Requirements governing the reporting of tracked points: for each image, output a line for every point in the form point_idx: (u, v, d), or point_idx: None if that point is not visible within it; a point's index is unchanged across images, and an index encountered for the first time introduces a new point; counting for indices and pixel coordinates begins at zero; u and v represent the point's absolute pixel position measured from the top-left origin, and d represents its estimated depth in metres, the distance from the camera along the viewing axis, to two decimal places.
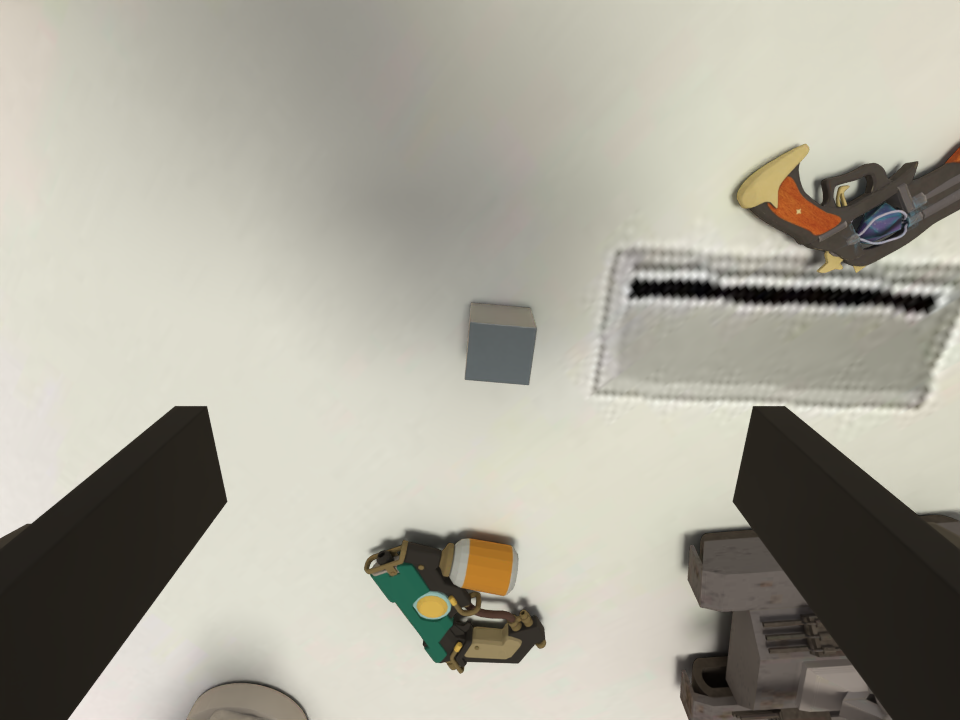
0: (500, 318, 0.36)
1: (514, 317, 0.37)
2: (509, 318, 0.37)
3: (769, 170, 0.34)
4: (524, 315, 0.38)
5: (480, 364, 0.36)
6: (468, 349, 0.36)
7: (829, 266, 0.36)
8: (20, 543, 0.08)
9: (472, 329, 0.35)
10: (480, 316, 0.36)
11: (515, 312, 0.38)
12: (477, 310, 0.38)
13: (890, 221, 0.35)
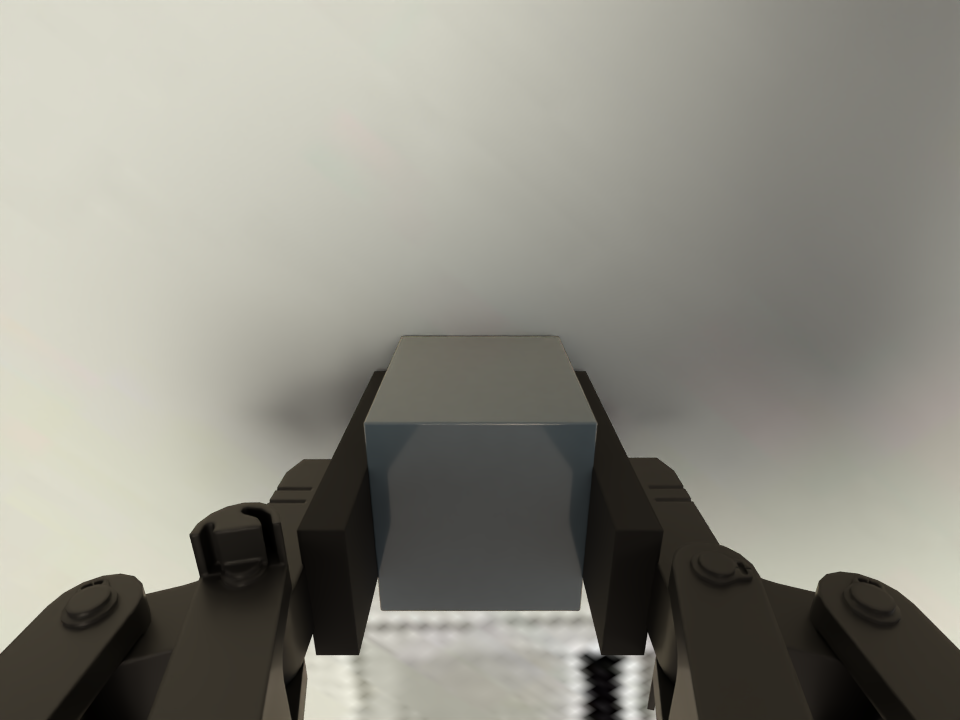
0: None
1: None
2: None
3: None
4: None
5: (434, 468, 0.10)
6: (489, 426, 0.10)
7: None
8: (338, 465, 0.10)
9: (568, 432, 0.10)
10: None
11: None
12: None
13: None
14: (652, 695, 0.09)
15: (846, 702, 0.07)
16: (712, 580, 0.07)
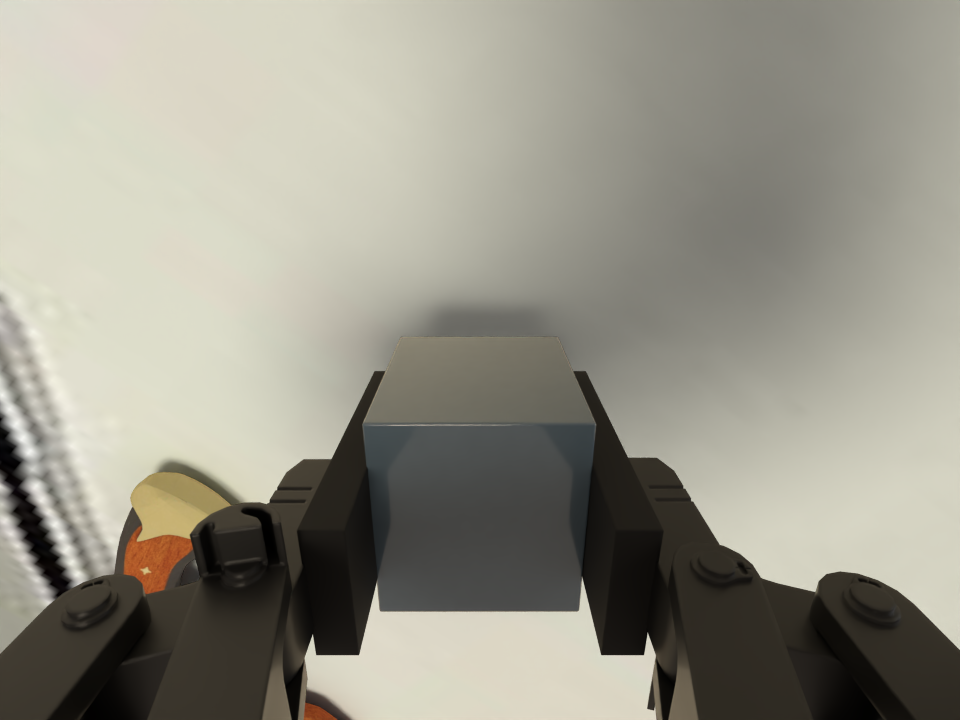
0: None
1: None
2: None
3: (193, 513, 0.21)
4: None
5: (433, 469, 0.10)
6: (488, 426, 0.10)
7: None
8: (338, 465, 0.10)
9: (566, 433, 0.10)
10: None
11: None
12: None
13: None
14: (652, 695, 0.09)
15: (846, 702, 0.07)
16: (712, 581, 0.07)
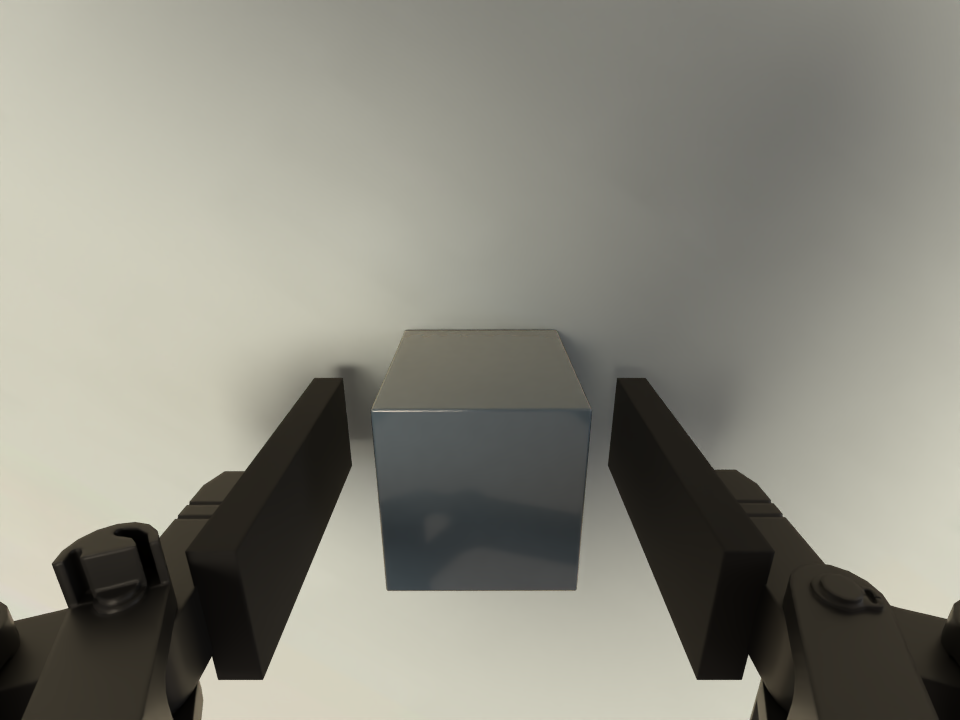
0: None
1: None
2: None
3: None
4: None
5: (437, 453, 0.10)
6: (489, 412, 0.10)
7: None
8: (249, 479, 0.09)
9: (564, 419, 0.10)
10: None
11: None
12: None
13: None
14: (755, 717, 0.08)
15: None
16: (835, 605, 0.07)
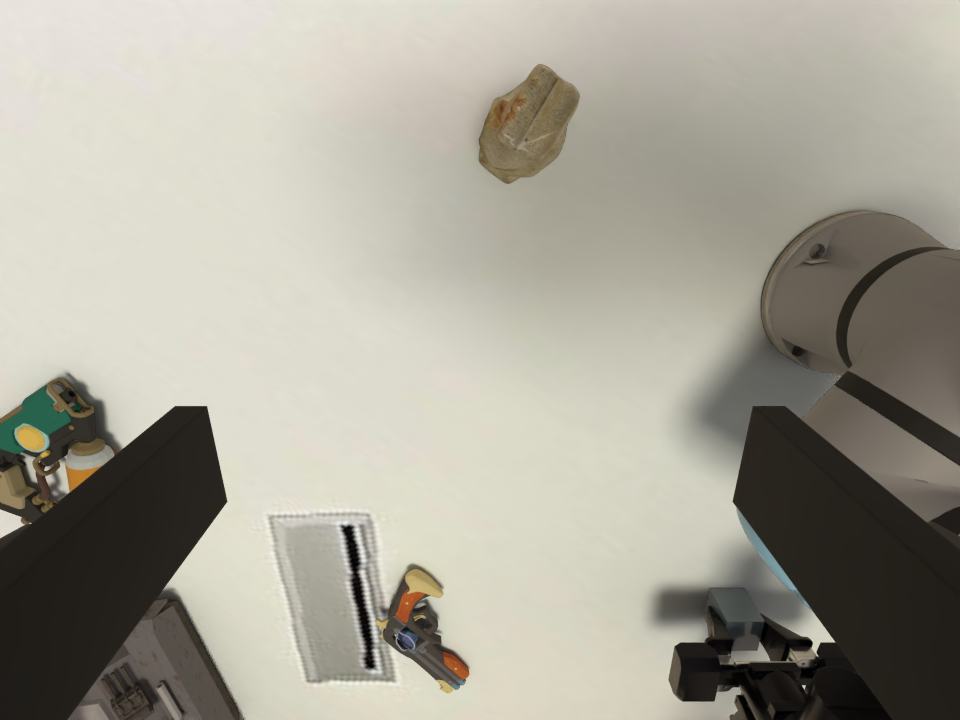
0: None
1: None
2: None
3: (426, 584, 0.61)
4: None
5: (736, 627, 0.59)
6: (747, 622, 0.59)
7: (380, 623, 0.63)
8: (21, 543, 0.08)
9: (759, 623, 0.59)
10: None
11: None
12: None
13: (408, 643, 0.64)
14: None
15: None
16: None
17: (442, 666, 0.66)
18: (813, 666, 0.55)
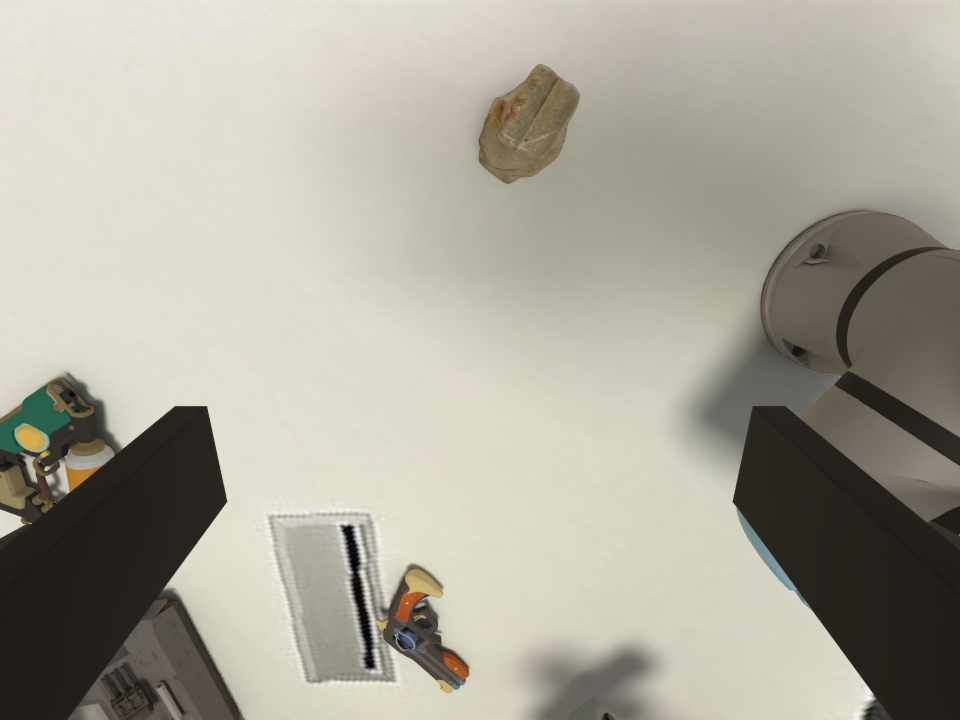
0: None
1: None
2: None
3: (426, 584, 0.61)
4: None
5: None
6: None
7: (380, 623, 0.63)
8: (21, 543, 0.08)
9: None
10: None
11: None
12: (599, 716, 0.63)
13: (408, 643, 0.64)
14: None
15: None
16: None
17: (442, 666, 0.66)
18: None
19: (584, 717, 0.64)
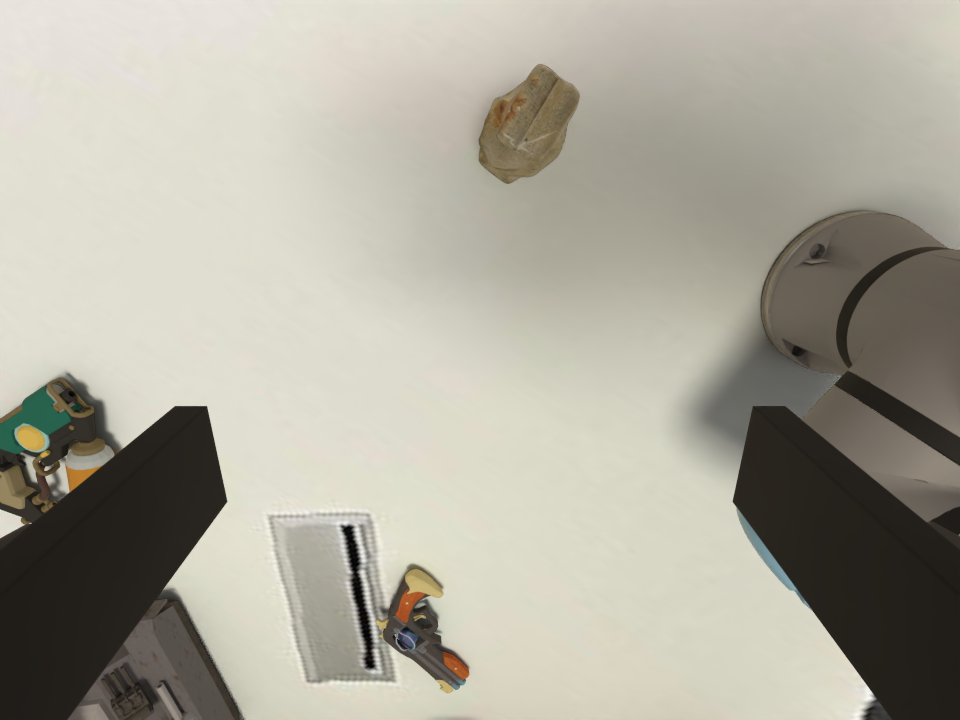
0: None
1: None
2: None
3: (426, 584, 0.61)
4: None
5: None
6: None
7: (380, 623, 0.63)
8: (21, 543, 0.08)
9: None
10: None
11: None
12: None
13: (408, 643, 0.64)
14: None
15: None
16: None
17: (442, 666, 0.66)
18: None
19: None
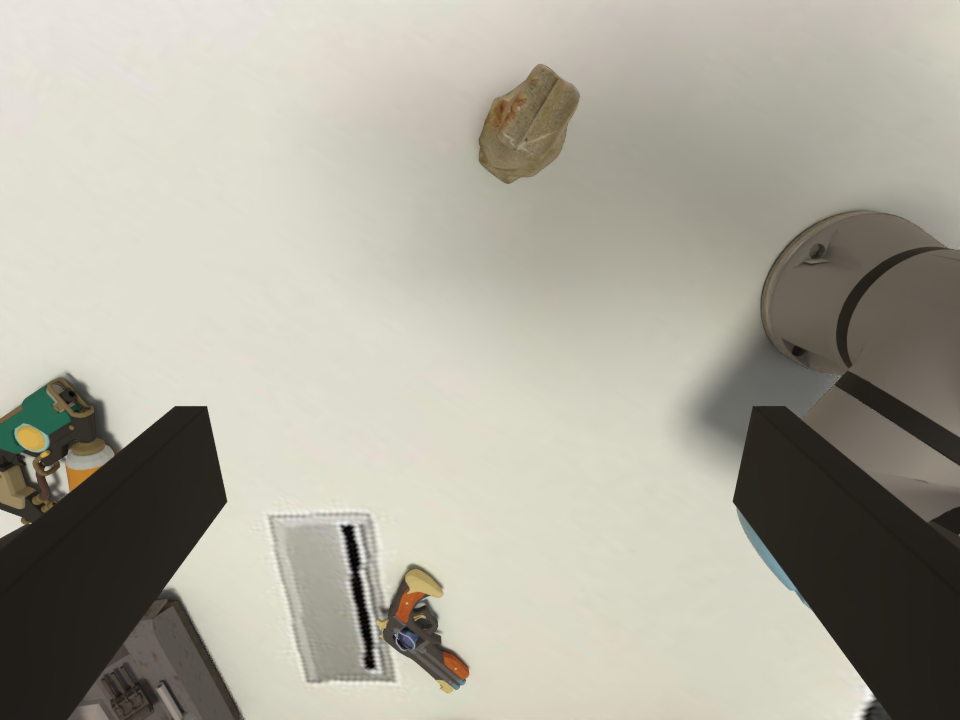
0: None
1: None
2: None
3: (426, 584, 0.61)
4: None
5: None
6: None
7: (380, 623, 0.63)
8: (21, 543, 0.08)
9: None
10: None
11: None
12: None
13: (408, 643, 0.64)
14: None
15: None
16: None
17: (442, 666, 0.66)
18: None
19: None
